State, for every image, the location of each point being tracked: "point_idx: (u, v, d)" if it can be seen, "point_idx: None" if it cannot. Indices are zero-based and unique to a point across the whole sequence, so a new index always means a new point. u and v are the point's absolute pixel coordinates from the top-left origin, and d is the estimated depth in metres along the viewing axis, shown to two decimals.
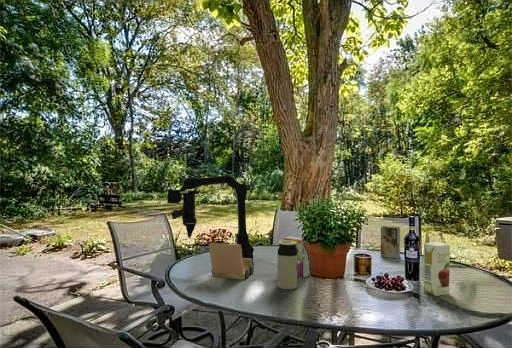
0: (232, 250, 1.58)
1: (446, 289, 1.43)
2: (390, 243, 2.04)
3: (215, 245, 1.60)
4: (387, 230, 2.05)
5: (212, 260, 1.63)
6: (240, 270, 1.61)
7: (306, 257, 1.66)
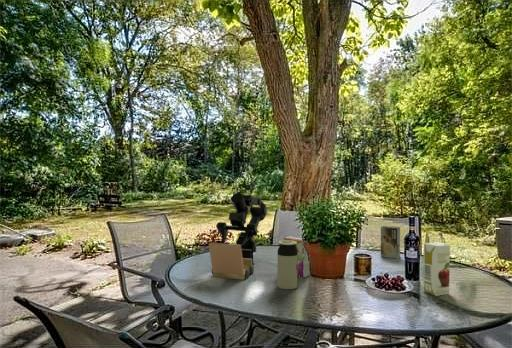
0: (232, 250, 1.58)
1: (446, 289, 1.43)
2: (390, 243, 2.04)
3: (215, 245, 1.60)
4: (387, 230, 2.05)
5: (212, 260, 1.63)
6: (240, 270, 1.61)
7: (306, 257, 1.66)
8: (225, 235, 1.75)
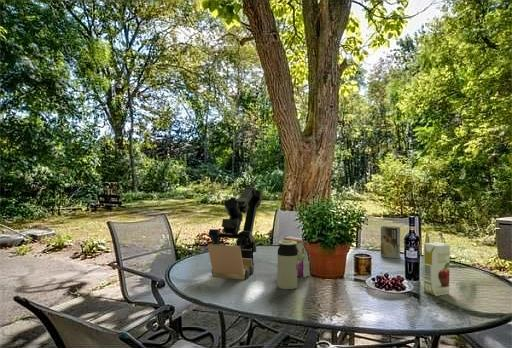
0: (231, 251, 1.57)
1: (446, 289, 1.43)
2: (390, 243, 2.04)
3: (214, 246, 1.59)
4: (387, 230, 2.05)
5: (212, 261, 1.62)
6: (240, 270, 1.61)
7: (306, 257, 1.66)
8: (218, 243, 1.65)
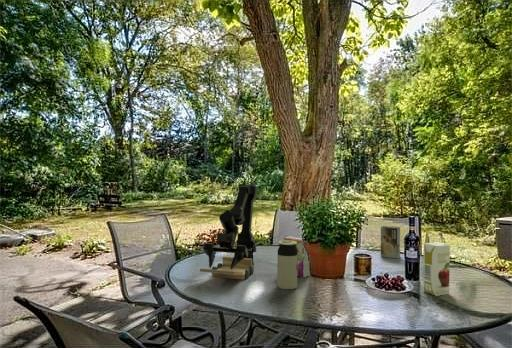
0: None
1: (446, 289, 1.43)
2: (390, 243, 2.04)
3: None
4: (387, 230, 2.05)
5: None
6: None
7: (306, 257, 1.66)
8: (213, 257, 1.59)
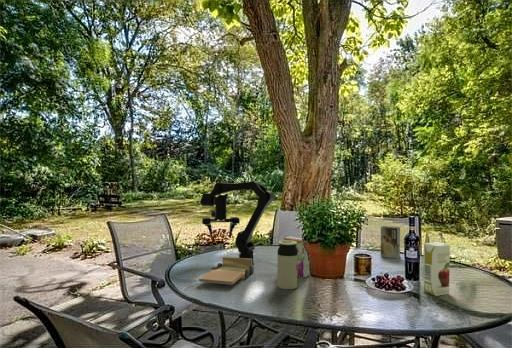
0: None
1: (446, 289, 1.43)
2: (390, 243, 2.04)
3: (206, 281, 1.51)
4: (387, 230, 2.05)
5: None
6: None
7: (306, 257, 1.66)
8: (230, 228, 1.95)
